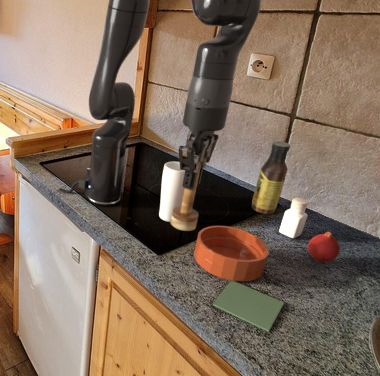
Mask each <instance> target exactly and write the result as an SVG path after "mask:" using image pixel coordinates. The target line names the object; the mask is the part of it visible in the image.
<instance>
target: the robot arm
mask: <svg viewBox="0 0 380 376" xmlns="http://www.w3.org/2000/svg"><path fill="white" fill-rule="evenodd" d="M150 1H151V0H108V4H107V10H106V15H105V21H104V28H103V35H102V41H101V46H100V51H99V56H98V61H97V64H96V68H95V71H94V74H93V79H92V83H91V86H90V90H89V94H88V110H89V114H90V116H91V117H92V118H93V119H94V120H97V121H105V122H104V123H103V124H102V125H101V126H99V127H98V128H96V129H95V130H94V131H93V133H92V140H91V153H90V154H91V155H90V163H89V164H90V165H88V166H87V168H86V175H85V176H84V177H81V178H79V179H78V180H77V181H75V182H74V183H72V184H71V188H70V189H65V188H61V187H59V188H58V190H59V191H60V192H63V193H65V194H70V193H73V191H74V189H75V186H77V185H78V188H80V189H83V190H85V193H84V198H86V199H87V200H88V201H89V202H90V203H91V204H94V205H96V206H101V207H111V206H112V207H113V206H116V205H118V204H120V203H121V194H122V193H121V192H122V186H123V177H124V176H123V175H124V167H125V158H126V149H127V141H128V138H129V136H130V134H131V130H132V124H133V118H134V114H135V113H134V112H135V105H136V97H135V92H134V88H133V87H132V85H130V84H129V83H128V82H126V81H125V82H124V81H119V82H117V81H116V80H117V78H118V75H119V72H120V69H121V67H122V65H123V63H124V62H125V61H126V59H127V58H128V56H129V55H130V54H131V52H132V51H133V50H134V48H135V47H136V45H137V44H138V43H139V41H140V39H141V38H142V36H143V33H144V31H145V27H146V23H147V19H148V14H149V9H150V4H151V3H150ZM189 1H190V5H191V9H192V13H193V15H194V17H195V18H196V19H197V21H199V23H201V24H203V25H205V26H209V27H219V30H218V32H217V34H216V36H215V37H214V38H212V39H209V40H205V41H203V42H201V43H200V44H199V45H198V47H197V49H196V54H195V58H194V63H193V69H192V75H191V78H190V81H189V85H188V89H187V95H186V101H185V106H184V111H183V113H184V114H183V117H182V124H183V125H184V127H187V128H188V129H189V132H188V134H187V135H186V139H185V145H179V147H178V162H180V169H181V170H185V174H184V179H183V184H182V186H183V188H186V189H189V190H192V189H193V188H194V186H195V181H196V176H197V171H198V167H199V163H201V168H200V173H199V178H198V183H197V187H198V186H199V185H200V184H201V180H202V177H203V176H202V175H203V171H204V169H205V168H206V165H207V164H209V163H210V161H211V158H212V155H213V153H214V150H215V147H216V145H217V142H218V140H219V137H220V136H219V134H216V133H215V132H218V131H221V130H223V129H224V128H225V126H226V122H227V117H228V113H229V108H230V104H231V99H232V96H233V90H234V89H233V88H234V79H235V74H236V69H237V66H238V60H239V56H240V54H241V51H242V49H243V48H244V46H245V44H246V42H247V40H248V38H249V36H250V33H251V32H252V30H253V27H254V25H255V23H256V22H257V19H258V17H259V14H260V11H261V6H262V0H189Z"/></svg>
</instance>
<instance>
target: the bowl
mask: <svg viewBox="0 0 380 376" xmlns="http://www.w3.org/2000/svg"><path fill="white" fill-rule="evenodd" d="M269 255H270V250H269V247H268V245H267V244H266V242H265V241H263V240H262V239H261V238H260V237H258V236H257V235H256V234H253V233H252V232H250V231H247V230H243V229H241V228H238V227H234V226H233V227H232V226H228V225H211V226H207V227H204V228H202V229H201V230H200V231H199V232H198V233H197V238H196V243H195V248H194V252H193V257H194V259H195V262H196V263H197V264H198V265H199V267H201V268H202V269H203V270H205V271H206V272H207V273H209V274H210V275H213V276H214V277H216V278H219V279H223V280H226V281H230V282H231V280H233V281H235V282H251V281H255V280H257V279H259V278H261V277H262V275H263V273H264V272H265V268H266V264H267V262H268V259H269Z"/></svg>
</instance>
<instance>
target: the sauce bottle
mask: <svg viewBox="0 0 380 376" xmlns="http://www.w3.org/2000/svg"><path fill="white" fill-rule="evenodd" d="M290 149H291V145H290V143H288V142H284V141H277V140H276V141H273V142H272V145H271V150H270V154H269V156H268V158H267V160H266V161H265V163H264V164H263V165H262V166H261V168H260V171H259V176H258V177H257V182H256V186H255V189H254V193H253V196H252V201H251V208H252V210H253V211H254V212H257V213H260V214H263V215H264V214H265V215H272V214H274V213H275V212H276V209H277V207H278V204H279V202H280V201H279V200H280V197H281V194H282V191H283V187H284V184H285V181H286V176H287V173H288V166H287V164H286V160H287V156H288V152H290Z"/></svg>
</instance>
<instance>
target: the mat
mask: <svg viewBox="0 0 380 376" xmlns="http://www.w3.org/2000/svg"><path fill="white" fill-rule="evenodd" d="M284 305H285V302H283V301H282V300H280V299H277V298H275V297H272V296H269V295H268V294H265V293H263V292H260V291H258V290H256V289H254V288H251V287H249V286H246V285H244V284H242V283H240V282H238V281H233V280H231V281H230V282H229V283H228V284H227V285H226V287H224V289H223V290H222V291H221V293H220V294H219V296H218V297H217V298H216V299H215V301H214V302H213V303H212V306H213V307H215V308H217V309H219V310H221V311H223V312H225V313H228V314H230V315H232V316H234V317H236V318H238V319H240V320H242V321H244V322H247V323H248V324H250V325H253V326H254V327H257V328H258V329H261V330H263V331H265V332H268V333H269V332H270V331H271V329H272V327H273V325H274V323H275V321H276V319H277V318H278V316H279V314H280V312H281V310H282V309H283V307H284Z"/></svg>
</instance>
